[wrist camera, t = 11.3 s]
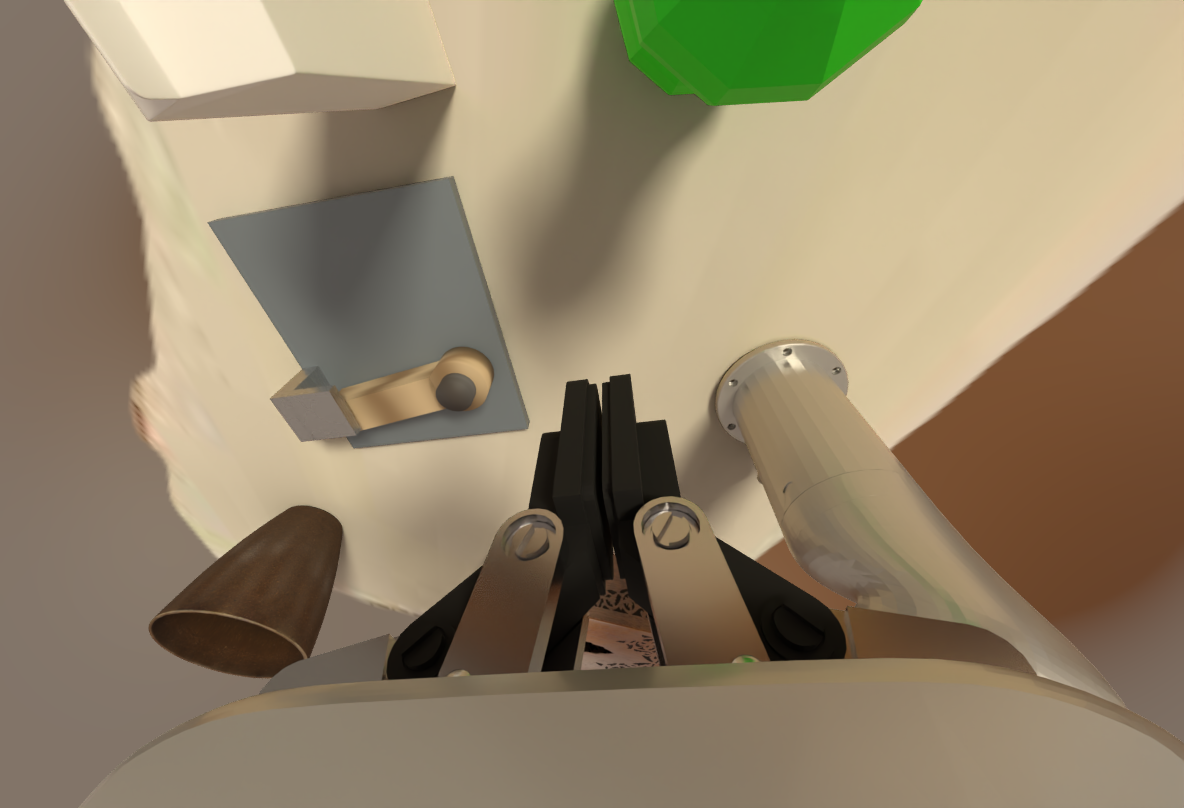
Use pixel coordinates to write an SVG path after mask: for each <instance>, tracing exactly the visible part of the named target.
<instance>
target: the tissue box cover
mask: <svg viewBox="0 0 1184 808" xmlns="http://www.w3.org/2000/svg"><path fill="white" fill-rule="evenodd" d="M613 563H614V579H613V580H606V595H600V600H599V601H598V602H597V603H596V604H595V605H594V606H593V607H592V608H591V609H590V610H589V625H588V631H587V636H586V642H585V648H584V654H583V660H582V665H581V670H593V669H614V668H635V667H656V666H659V663H658V659H657V654H656V650H655V646H654V642H653V638H652V634H651V629H650V625H649V621H648V617H647V612H646V611H645V610H644V609H643V608H641V607H640V606H639V605H638V604H637V603H635V602H634V601H633V600H632V599H631V598H630V597H629V595H628V590H627V585H626V580H625V579H620V575H619V570H618V566H617V561H616V556H615V555H613Z"/></svg>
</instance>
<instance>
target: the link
mask: <svg viewBox="0 0 1184 808" xmlns="http://www.w3.org/2000/svg"><path fill="white" fill-rule="evenodd" d="M493 379H494V369H493V366H492V364H491V362H490V360H489V359H488V358H487V357H486V356H485V355H484V354H483V353H481V352H479V351H478V350H476V349H473V348H469V347H455V348H452V349H450V350H448V351H446V352H445V353H444V354H443V356H442V357H441V359H440V361H437V362H433V363H430V364H426V365H423V366H419V367H416V368H412V369H409V370H405V371H402V372H398V373H395V374H391V375H388V376H384V377H381V378H377V379H374V380H370V381H367V382H363V383H360V384H356V385H353V386H349V387H346V388H342V389H341V390H340V391H339V393H340V394H341V396H342V397H343V399H344V401H345V402H346V404H347V406H348V407H349V409H350V411H351V412H352V414H353V415H354V417H355V419H356V420H357V422H358V424H359V425H360V427H361V430H360V431H362V430H366V429H370V428H373V427H377V426H381V425H385V424H389V423H393V422H396V421H400V420H404V419H408V418H412V417H416V416H420V415H423V414H427V413H431V412H435V411H439V410H443V409H448V410H451V411H470V410H474V409H476V408H478V407H480V406H481V405H482V404H483V403H484V402H485V400H486V397H487V395H488V392H489V390H490V387H491V384H492V382H493Z"/></svg>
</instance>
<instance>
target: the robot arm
mask: <svg viewBox="0 0 1184 808" xmlns="http://www.w3.org/2000/svg"><path fill="white" fill-rule="evenodd" d="M848 383H849V382H848V375H847V371H846V369H845V367H844V365H843V363H842V362H841V361H840V359H839V358H838V357H837V356H836V355H835V354H834V353H833V352H832V351H831V350H830V349H828V348H826V347H825V346H823V345H821V344H819V343H815V342H812V341H808V340H798V339H792V340H781V341H777V342H773V343H769V344H766V345H764V346H761V347H759V348H757V349H755V350H753V351H751V352H750V353H748V354H746V355H744V356H743V357H742V358H741V359H739V360H738V361H737V362H736V363H735V364H734V365H733V366H732V367H731V368H730V369H729V370H728V371H727V372H726V374H725V375H724V377H723V379H722V380H721V382H720V384H719V387H718V390H717V392H716V399H715V406H716V413H717V415H718V419H719V421H720V423H721V425H722V427H723V428H724V429H725V431H726V432H727V433H728V434H729V435H730V436H732V437H733V438H735V439H736V440H738V441H740V442H743V443H745V444H746V445H747V448H748V450H749V453H750V455H751V458H752V460H753V462H754V465H755V467H756V470H757V472H758V474H757V479H758V481H759V482H760V483H761V484H763V487H764V489H765V492H766V494H767V496H768V499H769V501H770V504H771V506H772V509H773V511H774V513H775V516H776V518H777V521H778V523H779V526H780V528H781V530H782V533H783V536H784V538H785V540H786V543H787V545H788V548H789V550H790V552H791V553H792V555H793V557H794V558H795V560H796V561H797V563H798V564H799V565H800V567H801V568H802V569H803V570H804V571H805V572H806V573H807V574H808V575H809V576H811V577H812V578H813V579H815V580H816V581H817V582H819V583H820V584H822V585H823V586H825V587H827V588H828V589H830V590H832V591H834V592H835V593H837V594H839V595H841V596H843V597H845V598H847V599H849V600H851V601H853V602H855V603H857V604H856V606H855V607H851V606H847V608H846V610H845V611H843V610H836V609H829V608H828V607H826V606H825V605H824V604H823V603H821V602H820V601H819V600H817V599H816V598H814V597H813V596H811V595H810V594H808V593H806V592H805V591H803V590H801V589H800V588H798V587H797V586H795V585H793V584H791V583H790V582H788V581H787V580H785V579H783V578H782V577H780V576H779V575H777V574H775V573H773V572H772V571H770V570H769V569H767V568H766V567H764V566H762V565H761V564H759V563H757V562H756V561H754V560H753V559H751V558H749V557H748V556H746V555H744V554H743V553H741V552H740V551H738V550H736V549H735V548H733V547H731V546H730V545H728V544H726V543H725V542H723V541H722V540H720V539H718V538H717V537H715V535H714V533H713V531H712V529H711V526H710V524H709V522H708V520H707V517H706V516H705V514H704V513H703V511H702V510H701V509H700V508H699V507H698V506H697V505H695V504H694V503H693V502H691V501H688V500H686V499H684V498H681V496H680V491H679V486H678V481H677V476H676V470H675V465H674V460H673V455H672V450H671V445H670V440H669V434H668V429H667V424H666V420H657V421H648V422H639V423H636V416H635V408H634V400H633V392H632V384H631V376H630V374H626V375H618V376H610V382H605V383H602V411H601V406H600V400H599V395H598V389H597V385H596V384H589V382H588V379H585V380H577V381H569V382H567V384H566V391H565V399H564V407H563V415H562V423H561V431H558V432H549V433H543V434H542V437H541V442H540V447H539V453H538V458H537V464H536V469H535V475H534V481H533V486H532V492H531V497H530V503H529V508H528V510H525V511H522V512H519V513H517V514H515V515H514V516H512V517H510V518H509V519H508V520H507V521H506V522H505V523H504V524H503V525H502V526H501V527H500V529H499V530H498V532H497V534H496V536H495V538H494V540H493V543H492V545H491V548H490V550H489V553H488V555H487V557H486V560H485V562H484V565H483V566H481V567H480V568H479V569H478V570H477V571H475V572H474V573H473V574H472V575H470V576H469V577H468V578H467V579H466V580H464V581H463V582H462V583H461V584H459V585H458V586H457V587H456V588H454V589H453V590H452V591H451V592H450V593H448V594H447V595H446V596H445V597H443V598H442V599H441V600H440V601H439V602H437V603H436V604H435V605H434V606H432V607H431V608H430V609H429V610H428V611H426V612H425V613H424V614H423V615H421V616H420V617H419V618H418V619H416V621H414V622H413V623H412V624H410V625H409V626H408V628H406V629H405V631H404V632H403V633H401V634H400V636H398V637H394V638H393V637H392V636H391V635H390V634H387V635H384V636H381V637H377V638H374V639H370V640H367V641H364V642H360V643H357V644H354V645H350V646H347V647H344V648H340V649H337V650H334V651H330V652H327V653H324V654H320V655H317V656H314V657H310V658H307V659H304V660H300V661H297V662H295V663H293V664H291V665H289V666H287V667H285V668H284V669H282V670H281V671H280V672H279V673H277V674H276V675H275V676H273V677H272V678H271V679H270V681H269V682H268V683H267V684H266V685H265V687H264V688H263V689H262V690H261V691H260V693H259V695H255V696H251V697H247V698H244V699H241V700H238V701H235V702H231V703H229V704H226V705H224V706H221V707H218V708H216V709H213V710H211V711H209V712H206V713H204V714H202V715H200V716H198V717H195V718H193V719H191V720H189V721H187V722H185V723H182V724H180V725H178V726H176V727H175V728H173V729H171V730H169V731H167V732H166V733H164V734H162V735H161V736H159V737H157V738H156V739H154V740H153V741H151V742H149V743H148V744H146V745H145V746H143V747H141V748H140V749H138V750H137V751H136V752H134V753H133V754H132V755H131V756H129V757H128V758H127V759H126V760H124V761H123V762H122V763H120V764H119V765H118V766H117V767H116V768H115V769H114V770H113V771H112V772H111V773H110V774H109V775H108V776H107V777H106V778H105V779H104V780H103V781H102V782H101V783H100V784H99V785H98V786H97V788H96V789H94V791H93V792H92V793H91V794H90V795H89V796H88V797H87V798H86V799H85V800H84V802H83V803H82V804H81V805H80V807H79V808H1184V743H1183V742H1182V741H1180V740H1179V739H1178V738H1176V737H1175V736H1173V735H1172V734H1170V733H1169V732H1167V731H1166V730H1165V729H1163V728H1161V727H1160V726H1158V725H1156V724H1154V723H1153V722H1151V721H1149V720H1147V719H1145V718H1143V717H1141V716H1140V715H1138V714H1136V713H1134V712H1132V711H1130V710H1128V709H1127V708H1126V706H1125V704H1124V703H1123V701H1122V700H1121V698H1120V697H1119V696H1118V695H1117V693H1116V692H1115V691H1114V690H1113V688H1112V687H1111V686H1110V685H1109V683H1108V682H1107V681H1106V680H1105V678H1104V677H1103V676H1102V675H1101V673H1100V672H1099V671H1098V670H1097V669H1096V668H1095V667H1094V666H1093V665H1092V664H1091V663H1090V662H1089V661H1088V660H1087V659H1086V658H1085V657H1084V656H1083V655H1082V653H1080V652H1079V650H1078V649H1077V648H1076V647H1075V646H1074V645H1073V644H1072V643H1071V642H1070V641H1069V640H1068V639H1067V638H1065V637H1064V636H1063V635H1062V634H1061V633H1060V632H1059V631H1058V630H1057V629H1056V628H1055V627H1054V626H1053V625H1051V624H1050V623H1049V622H1048V621H1047V620H1046V619H1045V618H1044V617H1043V616H1042V615H1041V614H1040V613H1039V612H1037V611H1036V610H1035V609H1034V608H1033V607H1032V606H1031V605H1030V604H1029V603H1028V602H1027V601H1026V600H1024V599H1023V598H1022V597H1021V596H1020V595H1019V594H1018V593H1017V592H1016V591H1015V590H1014V589H1013V588H1012V587H1010V585H1008V583H1006V582H1005V581H1004V580H1003V579H1002V578H1001V577H1000V576H999V575H998V574H997V573H996V572H995V571H994V570H993V569H992V568H991V567H990V566H989V565H988V564H987V563H986V562H985V561H984V560H983V559H982V558H981V557H980V556H979V555H978V554H977V553H976V552H975V551H974V550H973V549H972V548H971V547H970V545H969V544H968V543H967V542H966V541H965V540H964V538H963V537H962V536H961V535H960V534H959V533H958V532H957V530H956V529H955V528H954V527H953V526H952V525H951V524H950V522H949V521H948V520H947V519H946V518H945V517H944V516H943V515H942V513H941V512H940V511H939V510H938V509H937V507H936V506H935V505H934V504H933V503H932V501H931V500H930V499H929V498H928V497H927V495H926V494H925V493H924V492H923V490H922V489H921V488H920V487H919V485H918V484H917V483H916V482H915V481H914V479H913V478H912V477H911V476H910V475H909V473H908V472H907V471H906V469H905V468H904V467H903V466H902V465H901V463H900V462H899V461H898V460H897V458H896V457H895V456H894V455H893V453H892V452H891V451H890V450H889V448H888V447H887V446H886V445H885V444H884V442H883V441H882V440H881V439H880V437H879V436H878V435H877V434H876V432H875V431H874V430H873V429H872V428H871V426H870V425H869V424H868V423H867V421H866V420H865V419H864V418H863V416H862V415H861V414H860V413H859V412H858V410H857V409H856V408H855V407H854V405H853V404H852V403H851V402H850V400H849V399H848V398H847V397H846V395H847V392H848ZM613 547H614V551H615V556H616V561H617V566H618V570H619V575H620V579H625V580H626V585H627V590H628V595H629V597H630V598H631V599H632V600H633V601H634V602H635V603H637V604H638V605H639V606H640V607H641V608H643V609H644V610H645V611H646V612H647V617H648V621H649V625H650V629H651V634H652V638H653V642H654V646H655V650H656V654H657V659H658V663H659V666H656V667H635V668H614V669H593V670H581V665H582V660H583V654H584V648H585V642H586V636H587V631H588V625H589V610H590V609H591V608H592V607H593V606H594V605H595V604H596V603H597V602H598V601H599V600H600V595H606V580H613V579H614V563H613Z"/></svg>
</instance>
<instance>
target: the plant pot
mask: <svg viewBox="0 0 1184 808" xmlns="http://www.w3.org/2000/svg"><path fill="white" fill-rule="evenodd" d="M341 540H342V526H341V524H340V522H339V521H338V520H337V519H336V518H335V517H334V516H332V515H331V514H329V513H328V512H326V511H324V510H321V509H318V508H315V507H310V506H295V507H291V508H289V509H287V510H286V511H284V512H283V513H281V514H279V515H278V516H276V517H275V518H273V519H272V520H270V521H269V522H267V523H266V524H264V525H263V526H261V527H260V528H259V529H257V530H256V531H254V532H253V533H252V534H250V535H249V536H248V537H246V538H245V539H243V540H242V541H241V542H240V543H238V544H237V545H236V546H234V547H233V548H232V549H231V550H229V551H228V552H227V553H226V554H224V555H223V556H222V557H221V558H219V559H218V560H217V561H216V562H215V563H213V564H212V565H211V566H210V567H209V568H207V569H206V570H205V571H204V572H203V573H202V574H201V575H199V576H198V577H197V578H196V579H195V580H194V581H193V582H192V583H191V584H189V585H188V586H187V587H186V588H185V589H184V590H183V591H182V592H181V593H180V594H179V595H178V596H177V597H175V598H174V599H173V601H171V602H170V603H169V604H168V605H167V606H166V607H165V608H164V609H163V610H162V611H161V612H160V613H159V614H158V615H156V616H155V617H154V618H153V619H152V620H151V622H150V624H149V632H150V635H151V636H152V638H153V639H154V640H155V641H156V642H157V643H158V644H159V645H160V646H161V647H163V648H164V649H166V650H167V651H168V652H170V653H172V654H174V655H175V656H177V657H179V658H181V659H183V660H186V661H188V662H191V663H193V664H196V665H198V666H201V667H204V668H208V669H211V670H214V671H218V672H222V673H227V674H232V675H237V676H243V677H252V678H272V677H273V676H275V675H276V674H277V673H279V672H280V671H281V670H282V669H284V668H285V667H287V666H289V665H291V664H293V663H295V662H297V661H300V660H304V659H307V658H310V655H311V653H312V649H313V647H314V645H315V642H316V639H317V636H318V634H319V631H320V628H321V625H322V623H323V619H324V616H325V613H326V610H327V606H328V603H329V599H330V595H331V592H332V588H333V584H334V580H335V576H336V571H337V566H338V560H339V554H340V547H341Z"/></svg>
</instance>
